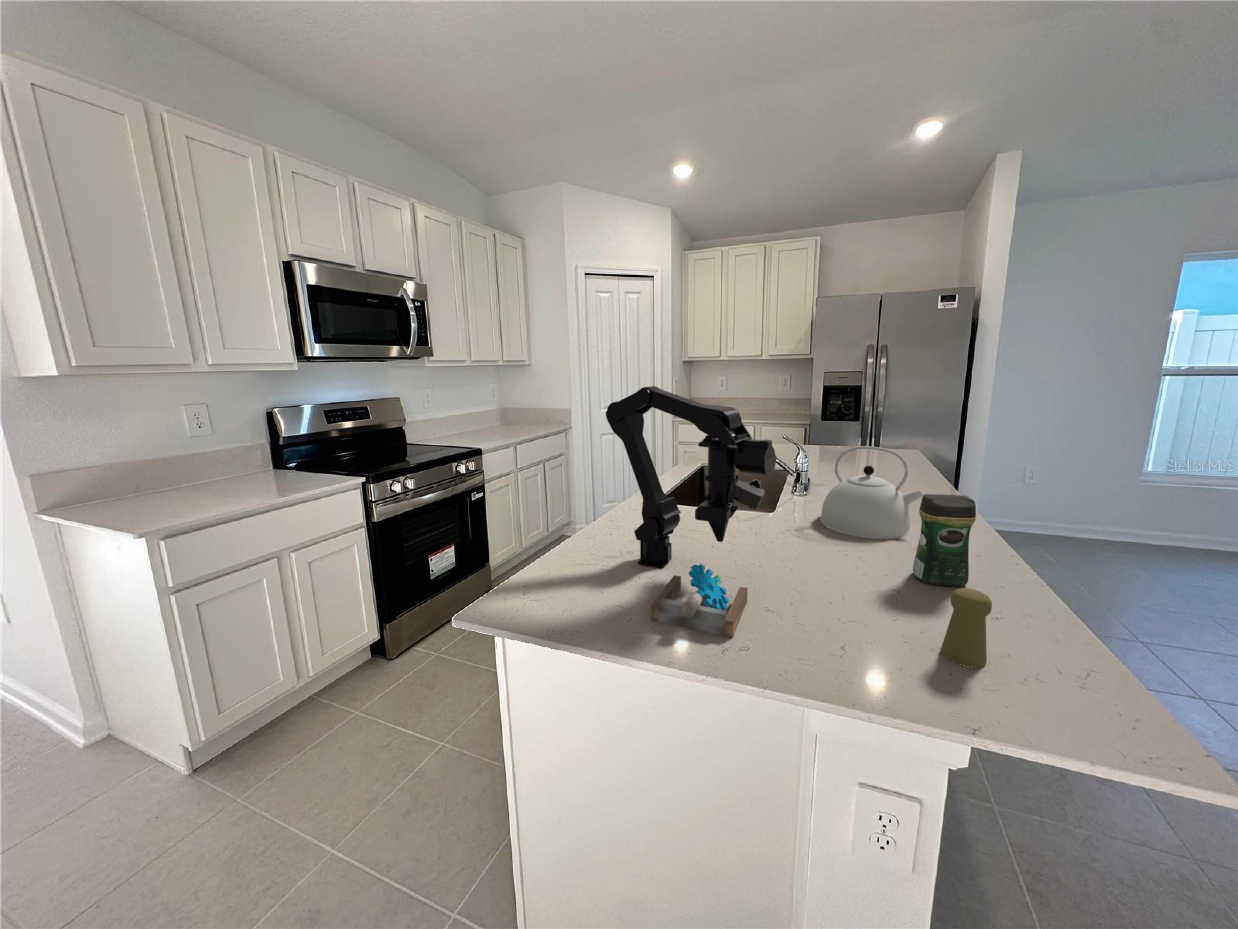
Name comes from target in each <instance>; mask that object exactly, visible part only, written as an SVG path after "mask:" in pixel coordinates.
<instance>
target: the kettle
mask: <svg viewBox="0 0 1238 929" xmlns="http://www.w3.org/2000/svg"><path fill="white" fill-rule="evenodd" d="M857 450H873V451H874V450H875V451H881V452H886V453H888V454H891V455H893V456H895V457H897V458H898V459H899V460H900V461H901V462H902V464H903V468H904V474H903V477H902V479H901V481H900V482H899V484H898V485H897V486H894V485H893V484H892V483H890V482H889V481H887V480H885V479H883V478H881V477H877V476H872V475H873V474H874V472H875V469H874V466H872V465H865V466H864V467H863V473H864V474H865V475H854V476H851V477H848V478H846V479H844V480H843V479H842V477H841V475H840V474H839V469H838V467H839V463H840V460H841V459H842V458H843V457H844V456H845V455H846V454H848V453H850V452H852V451H857ZM834 474H835V476H836V478H837V480H838V481H839V483H837V484H836V485H835V486H833V487H832V488H831V490H830V491H829V492H828V493H827V494H826V496H825V499H824V500H823V503H822V507H821V514H820V523H821V524H822V525H823V526H825V527H826V528H827V529H830V530H832V531H834V532H837V533H840V534H843V535H848V536H852V537H857V538H858V537H859V538H862V539H863V538H865V539H874V540H875V539H876V540H877V539H878V540H890V539H900V538H903V537H906V536H908V535H909V534H910V533H911V523H912V522H911V520H912V519H911V517H912V516H911V510H910V504H912V503H914V502H916V501H918V500H919V499H922V497H923V495H924V494H925V493H922V492H921V491H919V490H918V489H917V490H913V491H909V492H906V493H902V492H901V491H900V489H901V488H902V486H903V485H904V483H905V482H906V481H907V478H908V474H909V467H908V464H907V461H906V460H905V459H904V457H903V456H902V455H901V454H899V453H898V452H897V451H894V450H892V449H888V448H885V447H878V446H872V445H871V446H869V445H861V446H854V447H851V448H848V449H845V450H844V451H843V452H842V453H840V454H839V455H838V457H837V459H836V460H835V464H834Z"/></svg>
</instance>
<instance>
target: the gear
mask: <svg viewBox="0 0 1238 929" xmlns="http://www.w3.org/2000/svg"><path fill="white" fill-rule="evenodd" d="M690 568H691V570H690V571H689V572H688V576H689V577H690V578H691V580H689V581H690V586H691V587H693V588H696V589H698V590H696V591H695V592H697V593H699V594H700V595H701V596H702V597H705V598H706V600H704V602H703V603H704V605H705V607H710V608H711V606H712V608H715V609H720V610H725V611H726V609H727V608H728V606H727V604H728V603H729V601H730V599H729V598H728V597H727V596H725V595H726V594H727V589H726V588H725V587H724V586H723V587H722V586H721V583H722V581H721V579H722V577H721V575H720V574H716V575H715V576H714V577H712V576H713V575H714V571H712V569H710V568H708V569H707V570H705V569H706V567H705V565H703V564H701V563H700V564H699V565H697V564H692V566H690ZM713 604H714V605H713Z"/></svg>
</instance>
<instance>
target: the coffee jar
mask: <svg viewBox="0 0 1238 929" xmlns="http://www.w3.org/2000/svg"><path fill="white" fill-rule="evenodd" d="M923 494H924V495H923V497H921V502H920V506H919V510H918V512H919V518H920V520H921V525H920V526H921V528H920V534H919V539H918V543H917V549H916V552H915V556H914V561H913V565H912V572H913V575H914V576H915V578H917V579H918V580H920V581H922V582H924V583H926V584H929V585H936V586H949V587H964V586H965V585H967V584H968V583H969V574H970V571H969V569H970V566H969V565H970V564H969V555H970V554H969V552H970V551H969V547H970V545H969V544H970V535H971V531H972V530H971V529H972V527H973V526H974V523H975V521H976V518H977V510H976V509H977V507H976V502H975V500H974V499H973V498H971V497H969V496H967V495H960V494H958V495H957V494H939V493H937V494H935V493H934V494H929V493H923Z"/></svg>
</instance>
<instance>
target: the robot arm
mask: <svg viewBox="0 0 1238 929" xmlns="http://www.w3.org/2000/svg"><path fill="white" fill-rule="evenodd" d="M652 408H654V409H655V410H658V411H661V412H664V413H666V414H669V415H671V416H674V417H676V418H680V419H682V420H685V421H687V422H689V423H691V424H693V425H694V426H695V427H696V428H697V429H698V430H699V431H700V432H702V433H704V434H705V436H704V437H703V439H702V440H701V441H700V442H699V443H698V444H697V445H698V447H701V448H702V447H703V448H707V474H705V476H704V481H707V484H706V485H707V487H706V488H707V491H706V493H705V494H704V501H703V502H702V503H700V504H699V506H697V507H696V509H695V510H694V519H695V521H701V522H708V524H709V527H710V528H711V531H712V533H713V535H714V537H715V539H716V541H717V542H718V543H722V542H723V541H724V539H725V536H726V532H727V528H728V524H729V520H730V519H731V518H732V517H733V516H734V514H735V512H736V511H738V509H739V506H736V505H732V504H734V503H736V502H738V503H741V504H743V505H745V506H747V507H748V508H749V509H751V510H755V511H756V510H758V508H759V506H760V505H761V502H762V500H763V497H764V495H765V493H766V491H765V489H764V488H762V481H761V480H758V479H756V478H754V479H752V480H751V481H750V482H748V481H745V482H744V481H741V480H740V474H739V472H740V473H744V474H745V473H746V474H751V475H752V474H753V475H759V476H760V475H761V476H766V477H767V476H769V477H770V476H772V474H773V473H774V471H775V467H776V464H777V455H776V451H775V448H774V446H773V440H772V439H753V437H752V436H751V433H750V432H749V430H748V429H747V427H746V426H745V425H744V423H743V422H742V416H741V414H740V411H739V410H738V409H737V408H734V407H732V406H727V405H726V406H724V405H720V404H719V405H718V404H705V403H702V402H697V401H695V400H692V399H690V398H687V397H684V396H681V395H678V394H676V393H672V392H670V391H667V390H664V389H661V388H659V387H658V386H655V385H652V386H643V387H641V388H640V389H639V390H637V391H635V392H634V393H632V394H630V395H629V396H626V397H625V398H623V399H620V400H619V401H618V400H617V401H613V402H611V403H610V404H608V406H607V408H606V411H605V418H606V421H607V423H608V424H609V427H610V428H611V430H612V432H613V434H615V435H616V436H617V437H618V438H619V439H620V440H621V441H622V443H623V446H624V449H625V452H626V455H627V457H628V460H629V463H630V466H631V468H632V472H633V474H634V477H635V480H636V483H637V486H638V488H639V491H640V495H641V497H642V508H641V517H642V521H643V522H642V523H641V524H640V525H639V526H638V527H636V529H635V530H634V536H635V539H636V540H637V541H639V546H640V547H639V550H640V551H639V552H640V554H639V557H640V558H639V560H638V561H637V564H638V565H642V566H648V567H652V568H653V567H654V568H659V569H660V568H661V569H664V568H665V567H666V566H667V564H668V563H669V562H670V561H671V560H672V559H673V558H672V557H673V556H672V549H673V548H672V545H673V544H672V542H670V536H671V535H672V534H674V530H675V529H676V528H677V527H678V526H679V523H680V521H681V517H680V514H681V513H682V511H681V510H680V508H679V507H678V504H677V499H676V497H675V496H672V497H669V496H667V494H666V493H665V492H664V490H663V488H662V485H661V482H660V480H659V477H658V474H657V471H656V468H655V465H654V462H653V460H652V457H651V453H650V450H649V448H648V445H647V442H646V439H645V437H644V427H645V426H644V425H645V419H644V415H645V414H646V413H647V412H649V411H650V410H651V409H652ZM737 470H738V471H739V472H737ZM735 501H736V502H735Z"/></svg>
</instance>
